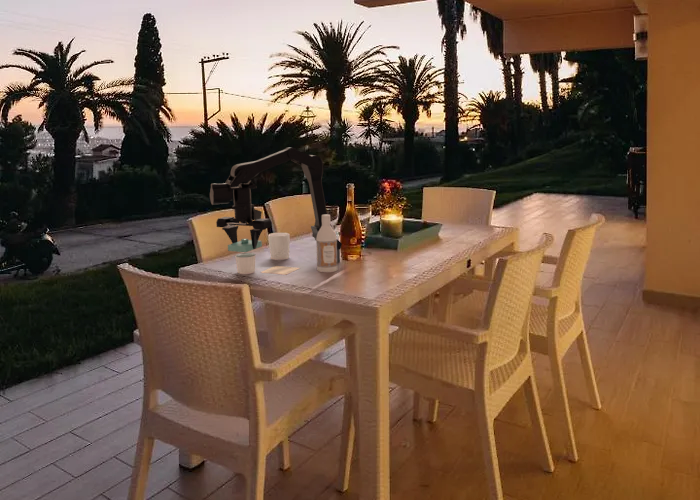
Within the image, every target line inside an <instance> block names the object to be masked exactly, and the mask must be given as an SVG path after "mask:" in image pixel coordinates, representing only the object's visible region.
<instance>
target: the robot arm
mask: <svg viewBox="0 0 700 500" xmlns="http://www.w3.org/2000/svg"><path fill="white" fill-rule="evenodd" d="M288 161H291V162H294V163H295V164H298V165H299V166H301V169H302V171H303V175H304V176H305V178H306V179H307V182H308V185H309V186H308V187H309V192H310V198H311V202H312V208H313V214H314V219H315V220H314V224H313V225H310V229H311V232H312V234H311V237H312V238H314V241H316V238H317V234H318V231H319V230H320V228H321V226H322V215H325V214H328V212H327V207H326V206H327V205H326V201H325V193H324V189H323V183H322V180H323V179H322V178H323V174H324V162H323V159H322V158H321V157H320V156H319V155H318V156H317V155H313V154H308V153H305V152H303V151H300V150H299V149H297V148H295V147H285V148H284V149H282V150H279V151H277V152H275V153H272V154H269V155H267V156H265V157H262V158H259V159H257V160H254V161H248V162H242V163H237V164H234V165H233V166H232V167H231V170H230V174H229V176H228V178H227V179H226V181H225V183H224V182H223V183H211V184H210V192H209V199H210V200H209V201H210V203H211V205H212V206H213V205H220V204H221V205H223V204H224V205H225V204H231V202H232V201H233V205H232V206H231V209H232V210H234V216H222V217H220V218H217V220H216V222H215V223H216V227H217V228H221V230H222V231H224V232H225V233H226V235H227V236H228V238H229V240H230V242H231V244H232V243H235V242H238V229H239V226H243V227H248V226H249V227H252V228H253V229H250V230H249V232H250V240H252V246H253V250H255V249H257V248H256V246H257V243H258V241H259V239H260V236H261V234H262V232H263V231H265V230H266V229H270V228H272V227H273V222H272V221H271V219H270V218H262V213H263V211H261V210H258V209H256V208H255V205H254V204H252V192H251V189H257V185H256V184H254V182H253V181H252V179H254V178H255V177H257V176H258V175H259V174H260V173H262V172H264V171H267V170H269V169H272V168H274V167H276V166H279V165H282V164H285V163H287V162H288ZM330 225H331V227H332V228H333V226H332V224H331V223H330ZM342 245H343V244H342V242H341V241H340V240H339V239H337V264H339V263H340V262H341V256H340V255H341V252H340V251H341V248H342Z"/></svg>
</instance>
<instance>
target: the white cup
mask: <svg viewBox="0 0 700 500" xmlns="http://www.w3.org/2000/svg"><path fill="white" fill-rule="evenodd" d="M290 243H291V242H290V233H288V232H272V233H269V234H268V244H269V247H268V248H269V254H270V260H274V261H283V260H288V259H289V258H290Z"/></svg>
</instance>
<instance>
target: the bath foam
mask: <svg viewBox="0 0 700 500" xmlns="http://www.w3.org/2000/svg"><path fill="white" fill-rule="evenodd" d="M330 224H331V214H328V213H327V214H325V215H322V226H321V228H320V230H319V231H318V234H317V238H316V240H315V241H316V270H317V272H321V273H333V272H336V271H338V263H337V240H338V239H337V234H336V232H335V230H334V227H333V226H332V224H331V225H330ZM331 226H332V227H331Z"/></svg>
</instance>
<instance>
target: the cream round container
mask: <svg viewBox="0 0 700 500" xmlns="http://www.w3.org/2000/svg"><path fill="white" fill-rule="evenodd" d="M234 258H235V264H236V269H237V274H240V275H248V274H253V273H254V274H255V272H256V254H255V253H251V252H241V253H237V254H235V255H234Z"/></svg>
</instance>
